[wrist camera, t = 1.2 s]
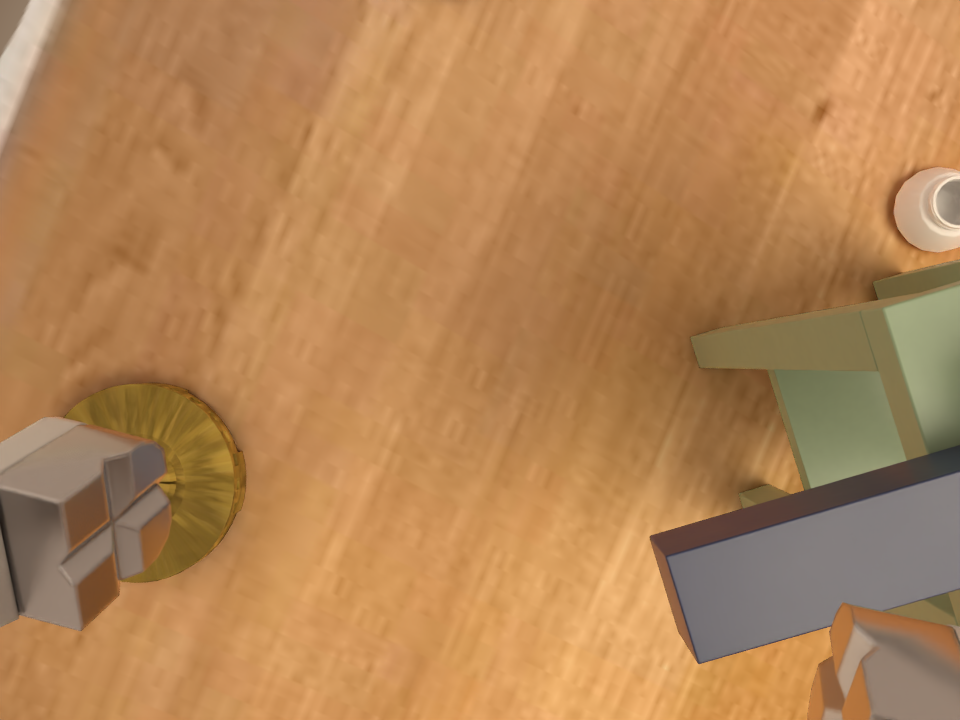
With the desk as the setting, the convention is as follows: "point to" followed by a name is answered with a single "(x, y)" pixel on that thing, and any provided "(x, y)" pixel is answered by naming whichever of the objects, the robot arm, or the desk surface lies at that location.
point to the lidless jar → (930, 209)
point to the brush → (814, 556)
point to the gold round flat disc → (178, 465)
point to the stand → (860, 385)
